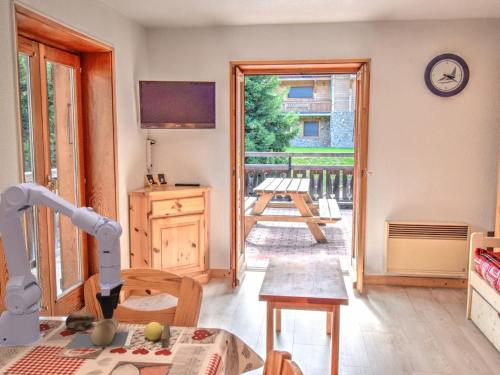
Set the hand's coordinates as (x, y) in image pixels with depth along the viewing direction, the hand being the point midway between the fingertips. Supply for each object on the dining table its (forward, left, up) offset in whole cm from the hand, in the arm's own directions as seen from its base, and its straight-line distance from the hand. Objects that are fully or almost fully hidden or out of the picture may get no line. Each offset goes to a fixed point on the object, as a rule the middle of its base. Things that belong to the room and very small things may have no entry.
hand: (110, 313), depth 125 cm
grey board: (-2, 0, -8) cm, 8 cm away
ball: (+13, 0, -7) cm, 15 cm away
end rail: (+15, 0, -8) cm, 17 cm away
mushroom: (-10, +10, -8) cm, 17 cm away
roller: (-1, 0, -8) cm, 8 cm away
